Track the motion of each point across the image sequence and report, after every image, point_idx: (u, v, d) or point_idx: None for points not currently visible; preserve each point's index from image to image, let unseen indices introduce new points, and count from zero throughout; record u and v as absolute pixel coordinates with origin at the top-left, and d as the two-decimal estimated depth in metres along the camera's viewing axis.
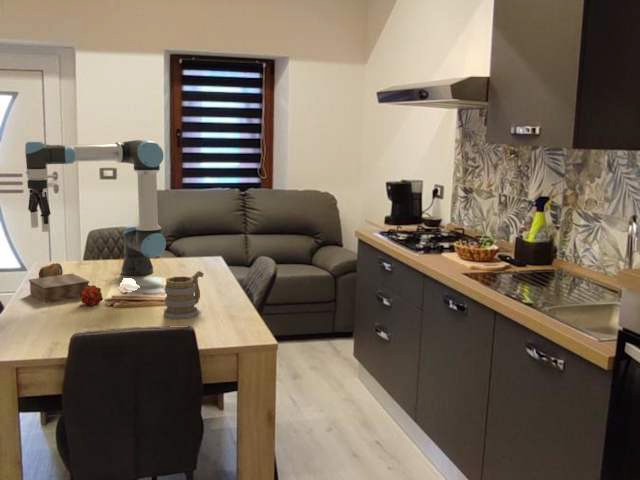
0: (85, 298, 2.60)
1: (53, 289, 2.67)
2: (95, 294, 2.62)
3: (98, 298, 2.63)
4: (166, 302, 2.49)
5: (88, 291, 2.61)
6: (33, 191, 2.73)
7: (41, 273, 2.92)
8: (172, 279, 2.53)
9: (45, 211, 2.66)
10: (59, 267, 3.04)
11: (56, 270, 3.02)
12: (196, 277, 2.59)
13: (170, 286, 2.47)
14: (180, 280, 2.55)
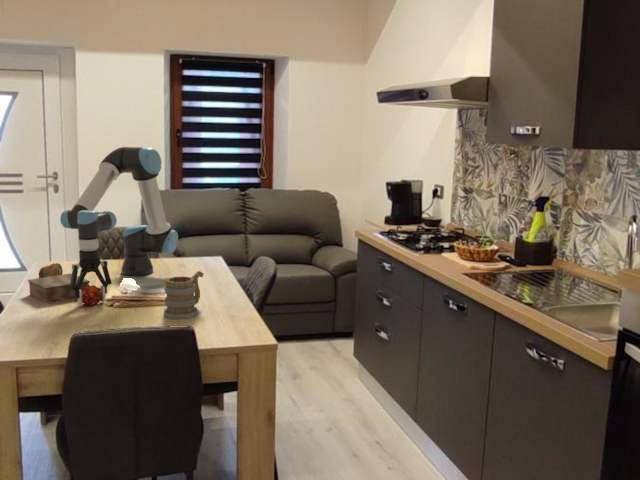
0: (85, 298, 2.60)
1: (54, 289, 2.67)
2: (95, 294, 2.62)
3: (98, 298, 2.63)
4: (166, 302, 2.49)
5: (88, 291, 2.61)
6: None
7: (41, 273, 2.92)
8: (172, 279, 2.53)
9: (70, 285, 2.59)
10: (59, 267, 3.04)
11: (56, 270, 3.02)
12: (196, 277, 2.59)
13: (170, 286, 2.47)
14: (180, 280, 2.55)
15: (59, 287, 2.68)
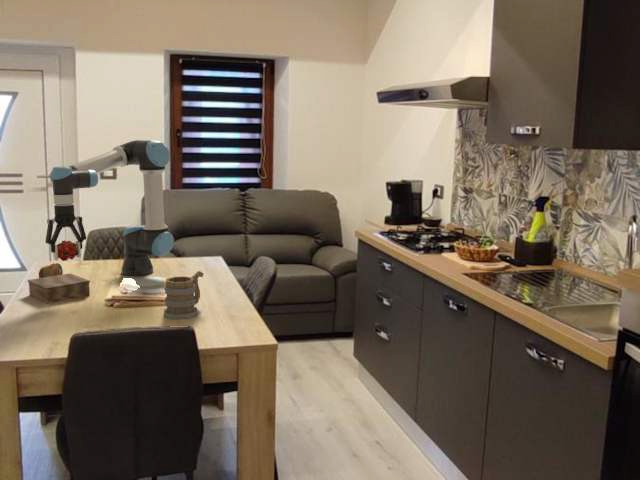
0: (60, 252, 2.66)
1: (55, 289, 2.67)
2: (70, 249, 2.69)
3: (73, 253, 2.69)
4: (166, 302, 2.49)
5: (63, 246, 2.68)
6: None
7: (41, 273, 2.92)
8: (172, 279, 2.53)
9: (46, 239, 2.65)
10: (59, 267, 3.04)
11: (56, 270, 3.02)
12: (196, 277, 2.59)
13: (170, 286, 2.47)
14: (180, 280, 2.55)
15: (60, 287, 2.68)
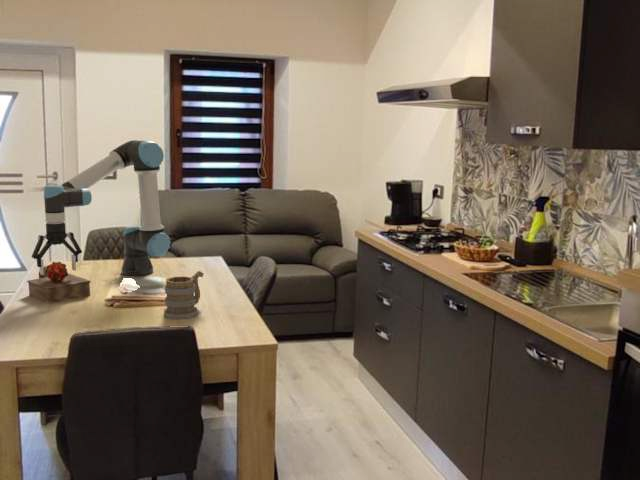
0: (50, 274, 2.72)
1: (56, 289, 2.67)
2: (60, 270, 2.74)
3: (63, 274, 2.74)
4: (166, 302, 2.49)
5: (53, 267, 2.73)
6: None
7: None
8: (172, 279, 2.53)
9: (33, 254, 2.69)
10: None
11: None
12: (196, 277, 2.59)
13: (170, 286, 2.47)
14: (180, 280, 2.55)
15: (61, 287, 2.68)
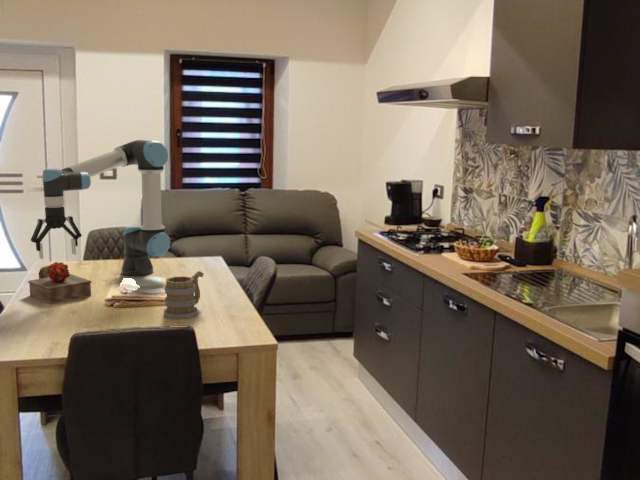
0: (52, 274, 2.72)
1: (57, 289, 2.67)
2: (62, 270, 2.74)
3: (65, 274, 2.74)
4: (166, 302, 2.49)
5: (55, 267, 2.73)
6: None
7: (41, 273, 2.92)
8: (172, 279, 2.53)
9: (32, 238, 2.68)
10: None
11: None
12: (196, 277, 2.59)
13: (170, 286, 2.47)
14: (180, 280, 2.55)
15: (62, 287, 2.68)
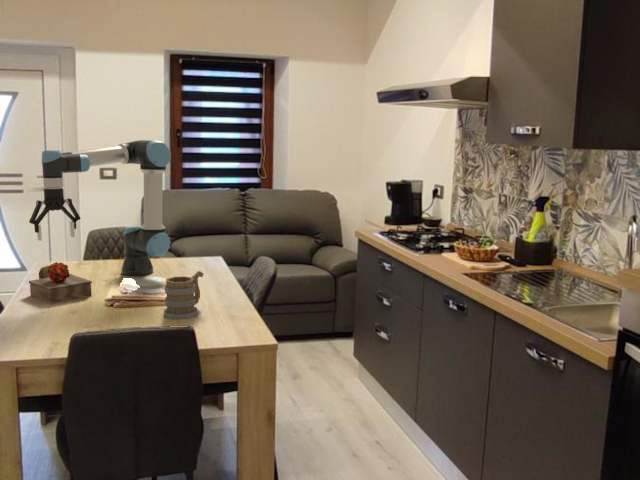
0: (52, 274, 2.72)
1: (58, 289, 2.67)
2: (62, 270, 2.74)
3: (65, 274, 2.74)
4: (166, 302, 2.49)
5: (55, 268, 2.73)
6: None
7: (41, 273, 2.92)
8: (172, 279, 2.53)
9: (30, 219, 2.66)
10: None
11: None
12: (196, 277, 2.59)
13: (170, 286, 2.47)
14: (180, 280, 2.55)
15: (62, 287, 2.68)
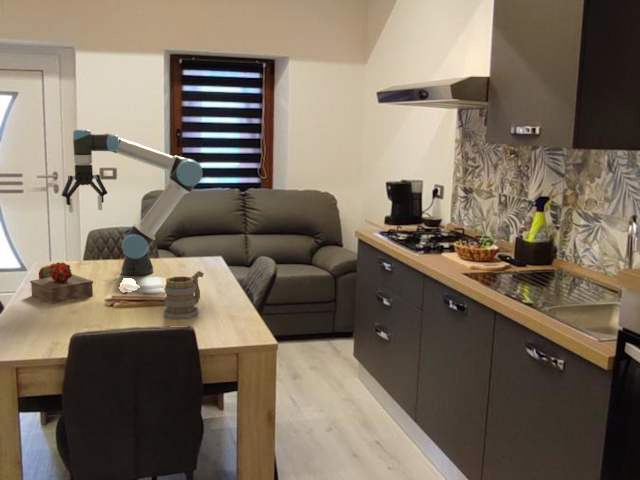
0: (55, 274, 2.71)
1: (59, 289, 2.67)
2: (64, 271, 2.73)
3: (67, 274, 2.74)
4: (166, 302, 2.49)
5: (57, 268, 2.72)
6: None
7: (41, 273, 2.92)
8: (172, 279, 2.53)
9: (62, 193, 2.91)
10: None
11: None
12: (196, 277, 2.59)
13: (170, 286, 2.47)
14: (180, 280, 2.55)
15: (64, 287, 2.68)
